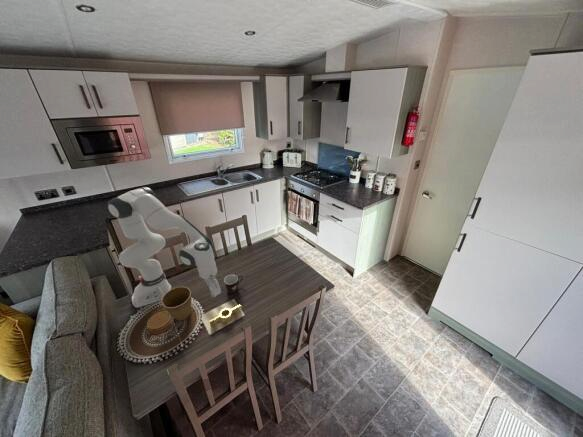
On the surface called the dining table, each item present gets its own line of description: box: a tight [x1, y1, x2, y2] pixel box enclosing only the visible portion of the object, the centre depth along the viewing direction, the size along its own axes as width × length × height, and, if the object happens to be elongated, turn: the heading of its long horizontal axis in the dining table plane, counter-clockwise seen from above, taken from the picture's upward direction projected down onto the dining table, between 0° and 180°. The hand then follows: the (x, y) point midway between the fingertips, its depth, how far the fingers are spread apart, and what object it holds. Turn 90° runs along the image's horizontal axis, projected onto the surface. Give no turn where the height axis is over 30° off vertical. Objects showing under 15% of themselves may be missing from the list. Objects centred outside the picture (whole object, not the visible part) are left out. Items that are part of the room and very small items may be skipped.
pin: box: [208, 287, 218, 298], centre depth 128 cm, size 3×3×8 cm
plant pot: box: [161, 286, 192, 322], centre depth 134 cm, size 15×15×16 cm
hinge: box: [209, 304, 243, 328], centre depth 134 cm, size 18×6×5 cm, turn 127°
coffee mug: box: [223, 274, 243, 294], centre depth 153 cm, size 12×9×10 cm
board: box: [200, 298, 245, 335], centre depth 138 cm, size 21×15×1 cm
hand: (212, 290), depth 128 cm, fingers closed on pin, 3 cm apart
